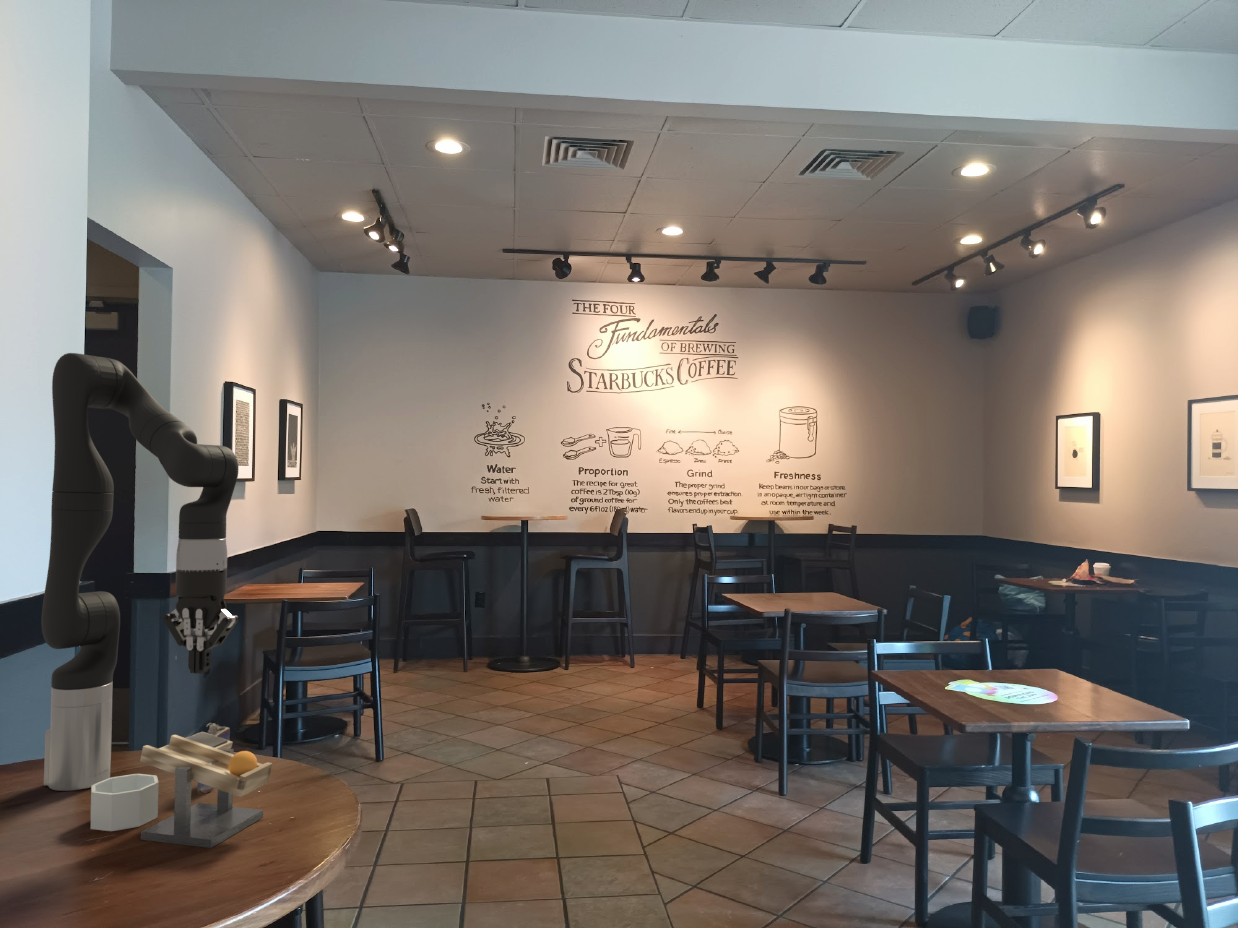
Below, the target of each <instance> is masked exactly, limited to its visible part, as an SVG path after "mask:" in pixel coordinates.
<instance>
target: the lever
mask: <svg viewBox="0 0 1238 928" xmlns="http://www.w3.org/2000/svg"><path fill="white" fill-rule="evenodd" d="M232 747H233V741H231V740H226V739H223V738H220V737H217V736H214V735H211V734H208V732H205V731H201V732H197V733H195V734H192V735H190V736H187V737H184V736H180V735H178V734H172V735H171V736H170V740H169V744H166V745H164V746H162V747H159V748H158V747H154V746H152V745H148V744H146V745H143V746H142V750H141V755H140V759H139V760H140V761H139V762H140V763H143V764H145V765H148V766H151V767H153V768H157V769H160V770H162V771H165V772H169V773H171V774H174V775H175V768H178V767H180V766H181V767H191V768H192V780H191V781H194V782H196V783H198V782H199V783H202V784H205V785H208V786H210V787H213V788H214V789H216V790H218V789H219V790H222V791H225V792H227V793H230V794H233V796H236V797H239V798H242V797H243V796H245V795H247V794H248V793H251V792H253V791H254V790H256V789H258V788H260V787H262V786H264V785H266V784H267V783H269V781H270V776H271V773H272V771H271V770H272V766H273V763H272V762H265V763H261V762H257V768H255V769H253V770H251V771H249V772H246V773H244V774H242V775H240V777H239V776H236V775H233V774H231V773H230V772H229V762H230V760H231V758H232V757H233V756H234V755H235V754H231V753H228V752H225V751H222V750H220V749H222V748H227V749H233V748H232Z"/></svg>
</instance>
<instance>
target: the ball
mask: <svg viewBox="0 0 1238 928" xmlns="http://www.w3.org/2000/svg"><path fill="white" fill-rule="evenodd" d="M257 763H258V759H257V756H255V754H254V753H252V752H251V751H248V750H242V751H238V752H236V753H235V754H234V756H233V757H232V758H231V760H230V762H229V772H230V773H231V774H233V775H236V776H239V777H240V775H242V774H244V773H246V772H249V771H251V770H253V769H255V768H257Z"/></svg>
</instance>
